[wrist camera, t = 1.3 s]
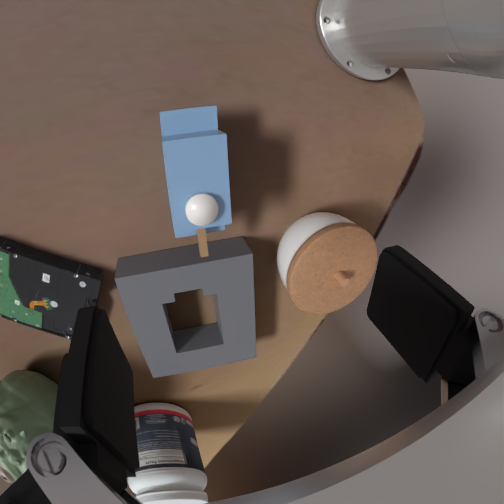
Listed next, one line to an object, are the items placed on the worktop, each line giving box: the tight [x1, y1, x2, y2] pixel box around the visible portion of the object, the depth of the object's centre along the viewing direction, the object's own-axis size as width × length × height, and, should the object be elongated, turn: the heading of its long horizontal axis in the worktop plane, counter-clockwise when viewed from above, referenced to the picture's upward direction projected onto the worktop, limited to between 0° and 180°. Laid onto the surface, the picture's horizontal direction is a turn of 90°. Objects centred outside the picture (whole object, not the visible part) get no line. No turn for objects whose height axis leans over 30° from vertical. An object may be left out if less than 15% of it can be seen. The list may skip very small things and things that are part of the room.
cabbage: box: [0, 370, 58, 483], centre depth 26 cm, size 16×19×20 cm
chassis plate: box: [115, 236, 256, 378], centre depth 34 cm, size 14×16×4 cm
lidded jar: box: [277, 212, 378, 314], centre depth 32 cm, size 11×11×9 cm
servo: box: [160, 106, 232, 257], centre depth 24 cm, size 13×4×9 cm, turn 2°
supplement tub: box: [128, 403, 208, 504], centre depth 38 cm, size 13×13×18 cm
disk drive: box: [0, 237, 103, 340], centre depth 28 cm, size 10×3×15 cm
